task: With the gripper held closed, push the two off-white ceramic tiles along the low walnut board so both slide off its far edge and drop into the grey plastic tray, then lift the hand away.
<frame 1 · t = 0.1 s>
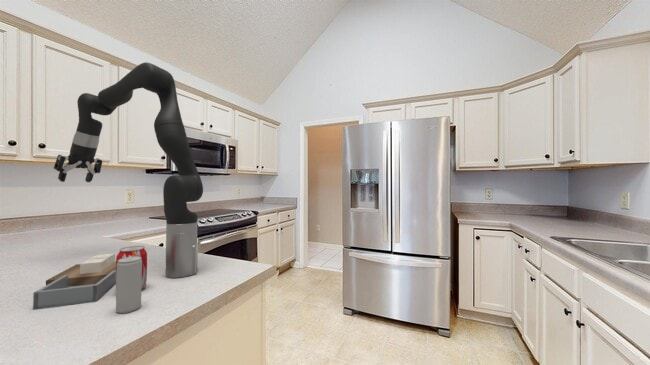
hand: (75, 181, 105), 31 cm above the worktop, tool tilted 20°, fingers open, 8 cm apart
walnut board: (95, 278, 82), on the worktop
grey cylinder: (128, 310, 61), on the worktop
front tile: (94, 270, 80), point 3 cm above the worktop, touching walnut board
rear tile: (102, 265, 86), point 3 cm above the worktop, touching walnut board
soda can: (131, 291, 72), on the worktop
grey tray: (79, 295, 69), on the worktop
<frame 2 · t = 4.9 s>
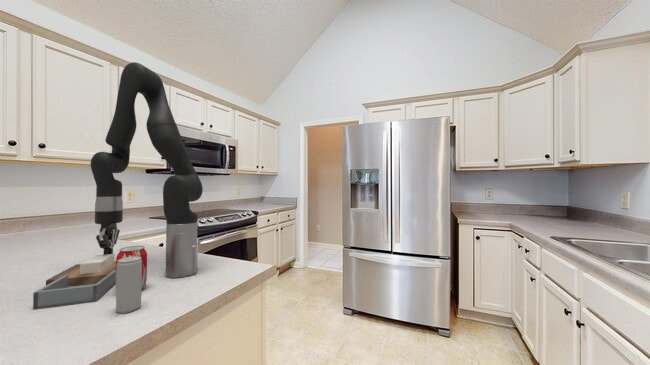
hand: (108, 258, 90), 4 cm above the worktop, tool pointing down, fingers closed
rear tile: (102, 265, 86), point 3 cm above the worktop, touching gripper, walnut board
everything else where it was.
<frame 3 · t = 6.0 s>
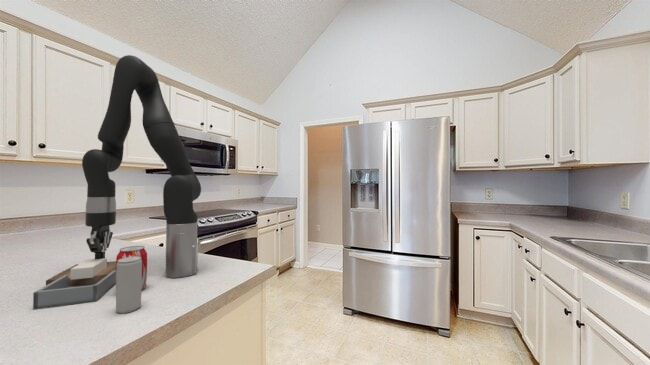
hand: (99, 263, 84), 4 cm above the worktop, tool pointing down, fingers closed
front tile: (86, 275, 75), point 3 cm above the worktop
rear tile: (93, 270, 80), point 3 cm above the worktop, touching gripper
everything else where it was.
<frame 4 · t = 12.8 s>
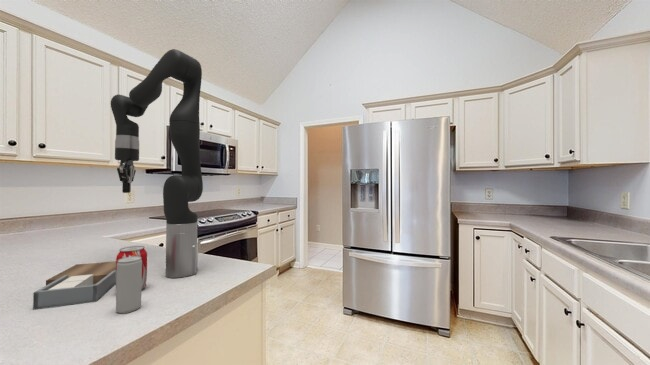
hand: (126, 192, 99), 27 cm above the worktop, tool pointing down, fingers closed
front tile: (66, 296, 67), point 1 cm above the worktop, touching grey tray
rear tile: (77, 288, 72), point 1 cm above the worktop, touching grey tray
everything else where it was.
at the end: front tile inside the target area (2.5 cm from its centre), point 0.6 cm above the worktop; rear tile inside the target area (4.3 cm from its centre), point 0.6 cm above the worktop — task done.
